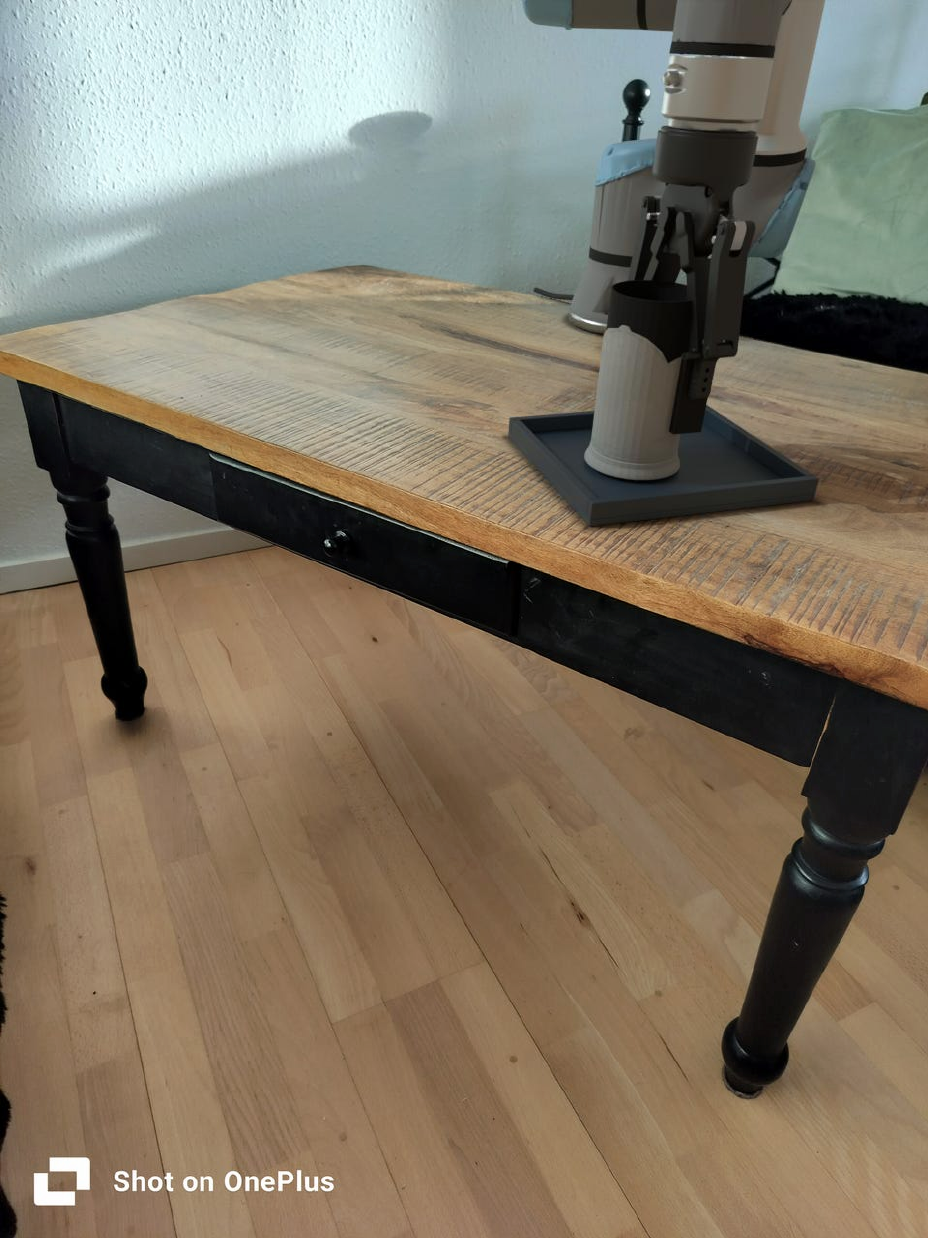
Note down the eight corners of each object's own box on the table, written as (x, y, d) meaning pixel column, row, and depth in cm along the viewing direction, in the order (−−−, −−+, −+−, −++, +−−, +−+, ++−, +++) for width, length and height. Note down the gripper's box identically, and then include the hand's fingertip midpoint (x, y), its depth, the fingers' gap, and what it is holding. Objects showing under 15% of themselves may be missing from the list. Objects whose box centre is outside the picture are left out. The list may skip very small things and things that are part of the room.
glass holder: (564, 457, 80) (582, 287, 71) (654, 421, 88) (679, 265, 80) (642, 488, 74) (671, 309, 66) (729, 447, 83) (765, 283, 75)
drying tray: (507, 437, 86) (509, 417, 85) (699, 421, 92) (702, 401, 90) (589, 526, 70) (592, 503, 69) (813, 500, 76) (819, 478, 75)
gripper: (605, 113, 73) (575, 379, 85) (742, 137, 56) (681, 463, 69) (684, 115, 75) (644, 374, 87) (839, 139, 58) (762, 455, 71)
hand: (660, 413), depth 78 cm, fingers closed on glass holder, 8 cm apart
